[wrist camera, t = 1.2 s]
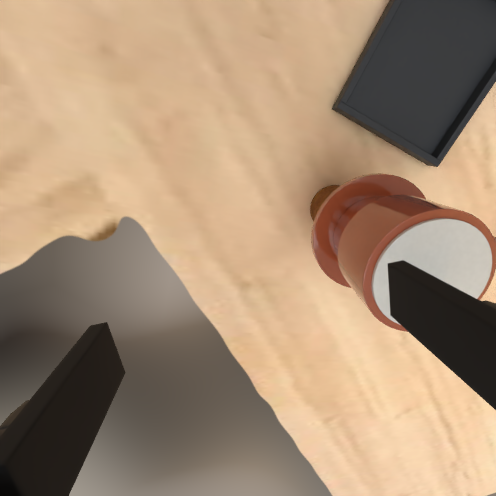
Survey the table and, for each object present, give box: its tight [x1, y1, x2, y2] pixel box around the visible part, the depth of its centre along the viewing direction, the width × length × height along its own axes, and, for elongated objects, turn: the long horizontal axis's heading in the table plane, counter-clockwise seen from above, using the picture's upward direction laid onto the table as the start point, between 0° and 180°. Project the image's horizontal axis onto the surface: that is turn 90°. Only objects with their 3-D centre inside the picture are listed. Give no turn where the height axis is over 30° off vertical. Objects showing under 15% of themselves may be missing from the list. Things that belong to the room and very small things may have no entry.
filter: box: [311, 173, 496, 332], centre depth 26 cm, size 13×12×10 cm
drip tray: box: [332, 0, 496, 167], centre depth 35 cm, size 19×16×2 cm
